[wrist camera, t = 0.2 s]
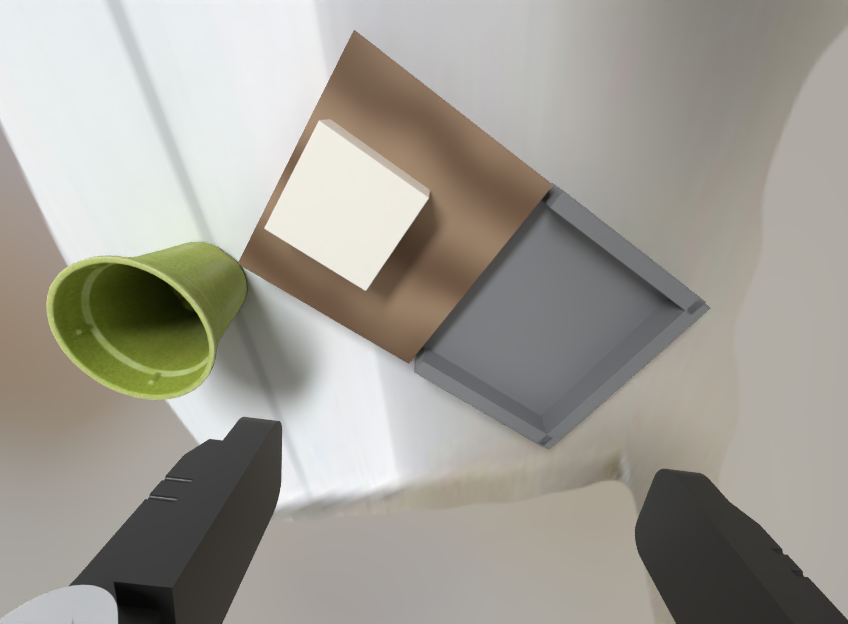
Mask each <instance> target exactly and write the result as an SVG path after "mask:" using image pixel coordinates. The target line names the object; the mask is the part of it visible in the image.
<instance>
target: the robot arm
mask: <svg viewBox="0 0 848 624" xmlns="http://www.w3.org/2000/svg"><path fill="white" fill-rule="evenodd" d="M281 465H282V425H281V422H280V421H274V420H265V419H257V418H249V417H242V418H241V419H239V420H238V422H237V423H236V424H235V426H234V427H233V428H232V429H231V431H230V432H229V433H228V435H227V436H226V437H225V438H224V440H223V441H221V440H213V439H209V440H207V441H206V442H204V443H202V444H201V445H199V446H198V447H196V448H195V449H193V450H191V451H190V452H188V453H186V454H185V455H184V456H183V457H182V458H181V459H180V460H179V461H178V463H177V464H176V465H175V466H174V467H173V468H172V469H171V471H170V472H169V473H168V474H167V475H166V477H165V480H164V481H161V482H160V483H159V484H158V485H157V487H156V488H155V489H154V490H153V491H152V492H151V493H150V496H149V498H148V499H145V500H144V501H143V503H142V504H141V505H140V506H139V507H138V508H137V510H136V511H135V512H134V513H133V514H132V515H131V516H130V517H129V519H128V520H127V521H126V522H125V523H124V524H123V525H122V527H121V528H120V529H119V530H118V531H117V532H116V533H115V535H114V536H113V537H112V538H111V539H110V540H109V541H108V543H107V544H106V545H105V546H104V547H103V548H102V549H101V551H100V552H99V553H98V554H97V555H96V556H95V557H94V559H93V560H92V561H91V562H90V563H89V564H88V566H87V567H86V568H85V569H84V570H83V571H82V572H81V574H80V575H79V576H78V577H77V578H76V579H75V580H74V581H73V582H72V583H71V584H70V585H69V586H68V587H63V588H59V589H56V590H53V591H50V592H47V593H45V594H42V595H40V596H37V597H35V598H33V599H31V600H29V601H27V602H26V603H24V604H22V605H20V606H19V607H17V608H15V609H14V610H12V611H11V612H9V613H8V614H6V615H5V616H4V617H2V618H1V619H0V624H222V623H223V620H224V618H225V616H226V614H227V612H228V610H229V607H230V605H231V603H232V601H233V599H234V596H235V595H236V592H237V590H238V588H239V586H240V584H241V581H242V579H243V577H244V575H245V573H246V571H247V569H248V567H249V564H250V562H251V560H252V558H253V556H254V554H255V551H256V549H257V547H258V545H259V543H260V541H261V539H262V536H263V534H264V532H265V530H266V528H267V526H268V523H269V521H270V519H271V517H272V515H273V513H274V510H275V507H276V504H277V501H278V497H279V493H280V487H281ZM635 540H636V546H637V550H638V553H639V555H640V557H641V559H642V561H643V563H644V565H645V567H646V569H647V570H648V572H649V574H650V576H651V578H652V580H653V582H654V583H655V585H656V587H657V589H658V591H659V593H660V595H661V596H662V598H663V600H664V602H665V604H666V606H667V608H668V609H669V611H670V613H671V615H672V617H673V619H674V620H675V622H676V624H848V620H847V619H846V618H845V617H844V616H843V614H842V613H841V612H840V611H839V610H838V609H837V608H836V607H835V606H834V605H833V604H832V602H830V601H829V599H828V598H827V597H826V596H825V595H824V594H823V593H822V592H821V591H820V590H819V588H818V587H817V586H816V585H815V584H814V583H813V582H812V581H811V580H810V579H809V578H808V577H804V576H803V571H802V570H801V569H800V568H799V567H798V566H797V565H796V564H795V563H794V561H793V560H792V559H791V558H790V557H789V556H788V555H784V554H783V552H782V549H781V547H780V546H779V545H778V544H777V543H776V542H775V541H774V540H773V539H772V538H771V537H770V535H769V534H767V532H766V531H765V530H764V529H763V528H762V527H761V526H760V525H759V524H758V523H757V522H755V521H754V520H753V519H751V518H750V517H749V516H747V515H746V514H745V513H743V512H742V511H741V510H739V509H738V508H737V507H736V506H734V505H733V504H732V503H730V502H729V501H728V500H727V499H726V498H725V496H724V495H723V494H722V493H721V492H720V491H719V490H718V489H717V487H716V486H715V485H714V484H713V483H712V482H711V481H710V480H709V479H708V478H707V477H706V476H705V475H703V474H701V473H695V472H687V471H678V470H670V469H661V470H659V471H658V472H657V473H656V475H655V477H654V479H653V482H652V484H651V487H650V489H649V492H648V494H647V497H646V500H645V502H644V505H643V507H642V510H641V512H640V515H639V518H638V520H637V523H636V527H635Z"/></svg>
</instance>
